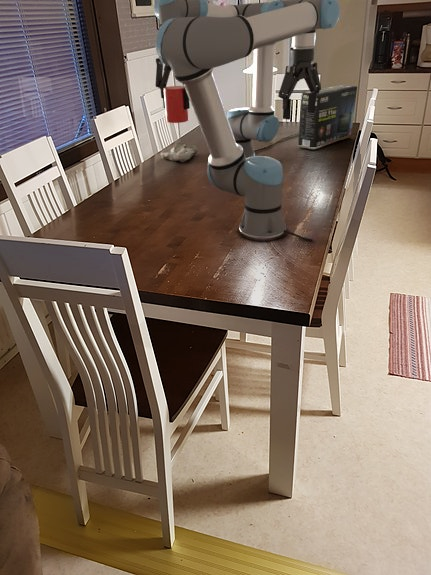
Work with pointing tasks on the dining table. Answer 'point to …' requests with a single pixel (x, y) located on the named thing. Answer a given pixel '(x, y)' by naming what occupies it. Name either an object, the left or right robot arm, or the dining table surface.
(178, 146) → the fossil
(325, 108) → the router box
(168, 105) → the canister
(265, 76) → the left robot arm
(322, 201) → the dining table surface
